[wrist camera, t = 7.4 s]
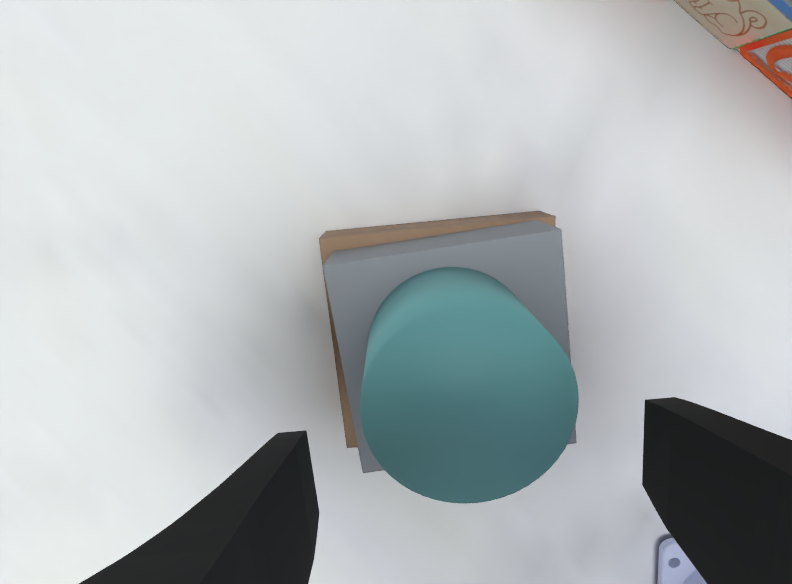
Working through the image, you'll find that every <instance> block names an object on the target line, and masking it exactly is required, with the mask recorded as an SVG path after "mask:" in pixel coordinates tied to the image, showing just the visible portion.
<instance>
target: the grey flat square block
mask: <svg viewBox="0 0 792 584" xmlns="http://www.w3.org/2000/svg"><path fill="white" fill-rule="evenodd" d="M442 267H462V268H468V269H473V270H477V271H480V272H482V273H485V274H487V275H489V276H491V277H493V278H495V279H497V280H498V281H499V282H501V283H502V284H504V285H505V286H506V287H507V288H508V289H509V290H510V291H511V292H512V293H513V294H514V295H515V296H516V297H517V298H518V299H519V300H520V301H521V303H522V304H523V305H524V306H525V307H526V308H527V309H528V310H529V311H530V312H531V313H532V315H533V316H534V317H535V318H536V319H537V320H538V321H539V322H540V323H541V324H542V325H543V327H544V328H545V329H546V330H547V331H548V332H549V333H550V334H551V335H552V336H553V337H554V339H555V340H556V341H557V342H558V344H559V345H560V346H561V347H562V349H563V350H564V352H565V354H566V355H567V357H568V359H569V361H570V363H571V360H570V345H569V331H568V317H567V303H566V289H565V275H564V261H563V247H562V233H561V229H559V228H557V227H554V226H552V225H549V224H546V223H544V222H541V221H539V220H532V221H526V222H519V223H513V224H507V225H500V226H494V227H487V228H481V229H474V230H468V231H461V232H455V233H448V234H442V235H435V236H429V237H422V238H416V239H409V240H403V241H396V242H390V243H383V244H377V245H370V246H364V247H357V248H351V249H344V250H338V251H332V253H331V254H330V256H329V257H328V259H327V260H326V262H325V263H324V265H323V269H324V275H325V280H326V285H327V290H328V295H329V300H330V305H331V311H332V316H333V321H334V326H335V331H336V336H337V341H338V347H339V352H340V357H341V362H342V367H343V372H344V378H345V383H346V388H347V393H348V398H349V403H350V408H351V414H352V419H353V424H354V429H355V434H356V439H357V445H358V450H359V455H360V460H361V465H362V470H363V473H367V472H374V471H381V470H385V469H384V468H383V467H382V466H381V465H380V464H379V462H378V461H377V460H376V458H375V457H374V455H373V453H372V451H371V450H370V448H369V446H368V444H367V441H366V438H365V436H364V433H363V428H362V423H361V415H360V401H361V391H362V383H363V376H364V368H365V361H366V353H367V346H368V338H369V333H370V328H371V324H372V322H373V319H374V316H375V314H376V312H377V310H378V308H379V307H380V305H381V304H382V302H383V301H384V300H385V298H386V297H387V296H388V295H389V294H390V293H391V292H392V291H393V290H394V289H395V288H396V287H397V286H399V285H400V284H401V283H402V282H404V281H406V280H407V279H409V278H410V277H412V276H415V275H417V274H419V273H421V272H424V271H428V270H431V269H436V268H442ZM572 443H576V430H575V426H574V429H573V432H572V435H571V437H570V439H569V441H568V443H567V444H572Z"/></svg>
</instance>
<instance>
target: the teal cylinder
mask: <svg viewBox="0 0 792 584" xmlns="http://www.w3.org/2000/svg"><path fill="white" fill-rule="evenodd" d="M577 413H578V387H577V382H576V378H575V373H574V371H573V368H572V366H571V363H570V361H569V359H568V357H567V355H566V354H565V352H564V350H563V349H562V347H561V346H560V345H559V344H558V342H557V341H556V340H555V339H554V337H553V336H552V335H551V334H550V333H549V332H548V331H547V330H546V329H545V328H544V327H543V325H542V324H541V323H540V322H539V321H538V320H537V319H536V318H535V317H534V316H533V315H532V313H531V312H530V311H529V310H528V309H527V308H526V307H525V306H524V305H523V304H522V303H521V301H520V300H519V299H518V298H517V297H516V296H515V295H514V294H513V293H512V292H511V291H510V290H509V289H508V288H507V287H506V286H505V285H504V284H502V283H501V282H499V281H498V280H497V279H495V278H493V277H491V276H489V275H487V274H485V273H482V272H480V271H477V270H473V269H468V268H462V267H442V268H436V269H431V270H428V271H424V272H421V273H419V274H417V275H415V276H412V277H410V278H409V279H407V280H406V281H404V282H402V283H401V284H400V285H399V286H397V287H396V288H395V289H394V290H393V291H392V292H391V293H390V294H389V295H388V296H387V297H386V298H385V300H384V301H383V302H382V304H381V305H380V307H379V308H378V310H377V312H376V314H375V316H374V319H373V322H372V324H371V328H370V333H369V338H368V346H367V353H366V361H365V368H364V376H363V383H362V391H361V401H360V415H361V423H362V428H363V433H364V436H365V438H366V441H367V444H368V446H369V448H370V450H371V451H372V453H373V455H374V457H375V458H376V460H377V461H378V462H379V464H380V465H381V466H382V467H383V468H384V469H385V470H386V472H387V473H388V474H389V475H390V476H392V477H393V478H394V479H395V480H397V481H398V482H399V483H400V484H402V485H404V486H405V487H407V488H408V489H410V490H412V491H414V492H416V493H418V494H421V495H423V496H426V497H429V498H432V499H435V500H440V501H445V502H451V503H478V502H485V501H491V500H494V499H498V498H502V497H505V496H507V495H510V494H512V493H515V492H517V491H519V490H521V489H522V488H524V487H526V486H528V485H529V484H531V483H532V482H534V481H535V480H537V479H538V478H539V477H540V476H542V475H543V474H544V473H545V472H546V471H547V470H548V469H549V468H550V467H551V466H552V465H553V464H554V463H555V461H556V460H557V459H558V458H559V456H560V455H561V453H562V452H563V450H564V449H565V447H566V445H567V443H568V441H569V439H570V437H571V435H572V432H573V429H574V426H575V423H576V418H577Z"/></svg>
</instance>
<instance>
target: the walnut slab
mask: <svg viewBox="0 0 792 584" xmlns="http://www.w3.org/2000/svg"><path fill="white" fill-rule="evenodd" d="M532 220H539V221H541V222H544V223H546V224H549V225H552V226H554V227H555V216H553V215H550V214H547V213H544V212H541V211H534V212H523V213H513V214H502V215H492V216H481V217H471V218H460V219H449V220H439V221H428V222H418V223H407V224H397V225H386V226H376V227H365V228H355V229H344V230H334V231H326V232H325V233H324V234H323V235H322V236H321V237H320V238H319V242H320V249H321V257H322V264H323V265H324V263H325V262H326V260H327V259H328V257H329V256H330V254H331V253H332V251H338V250H344V249H351V248H357V247H364V246H370V245H377V244H383V243H390V242H396V241H403V240H409V239H416V238H422V237H429V236H435V235H442V234H448V233H455V232H461V231H468V230H474V229H481V228H487V227H494V226H500V225H507V224H513V223H519V222H526V221H532ZM323 272H324V269H323ZM324 279H325V275H324ZM325 287H326V294H327V302H328V309H329V317H330V324H331V332H332V339H333V347H334V354H335V362H336V370H337V377H338V385H339V392H340V400H341V407H342V415H343V422H344V430H345V437H346V445H347V448H352V447H358V445H357V439H356V434H355V429H354V424H353V419H352V414H351V408H350V403H349V398H348V393H347V388H346V383H345V378H344V372H343V367H342V362H341V357H340V352H339V347H338V341H337V336H336V331H335V326H334V321H333V316H332V311H331V305H330V300H329V295H328V290H327V285H326V280H325Z"/></svg>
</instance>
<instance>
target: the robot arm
mask: <svg viewBox="0 0 792 584" xmlns="http://www.w3.org/2000/svg"><path fill="white" fill-rule="evenodd" d="M642 485H643V487H644V489H645V490H646V492H647V494H648V496H649V498H650V500H651V502H652V504H653V505H654V507H655V509H656V511H657V513H658V514H659V516H660V518H661V519H662V521H663V523H664V525H665V526H666V528H667V530H668V531H669V532H670V534H671V535H672V537H673V538H669V539H666V540H664V541H663V542H662V543H661V544H660V547H659V563H658V584H792V440H790V439H787V438H785V437H782V436H779V435H777V434H774V433H771V432H769V431H766V430H764V429H761V428H758V427H756V426H753V425H751V424H748V423H745V422H743V421H740V420H738V419H735V418H733V417H730V416H727V415H725V414H722V413H720V412H717V411H714V410H712V409H709V408H706V407H704V406H701V405H698V404H695V403H692V402H689V401H686V400H683V399H679V398H675V397H672V398H661V399H650V400H645V416H644V448H643V480H642ZM318 520H319V508H318V502H317V495H316V489H315V483H314V476H313V470H312V464H311V457H310V451H309V444H308V438H307V432H306V431H296V432H285V433H278V434H276V435H275V436H274V437H273V438H271V439H270V440H269V441H268V442H267V443H266V444H265V445H263V446H262V447H261V448H260V449H259V450H258V451H257V452H256V453H255V454H254V455H253V456H251V457H250V458H249V459H248V460H247V461H246V462H245V463H244V464H243V465H242V466H241V467H239V468H238V469H237V470H236V471H235V472H234V473H233V474H232V475H230V476H229V477H228V478H227V479H226V480H225V481H224V482H223V483H222V484H220V485H219V486H218V487H217V488H216V489H214V490H213V491H212V492H211V493H210V494H208V495H207V496H206V497H205V498H203V499H202V500H201V501H200V502H199V503H197V504H196V505H195V506H194V507H192V508H191V509H190V510H189V511H188V512H186V513H185V514H184V515H183V516H181V517H180V518H179V519H177V520H176V521H175V522H174V523H172V524H171V525H169V526H168V527H167V528H165V529H164V530H163V531H161V532H160V533H159V534H157V535H156V536H154V537H153V538H151V539H150V540H148V541H147V542H145V543H144V544H142V545H141V546H140V547H138V548H137V549H135V550H134V551H132V552H131V553H129V554H128V555H126V556H124V557H123V558H121V559H120V560H118V561H116V562H115V563H113V564H111V565H110V566H108V567H106V568H105V569H103V570H101V571H100V572H98V573H96V574H95V575H93V576H91V577H90V578H88V579H86V580H85V581H83V582H81V583H79V584H308V582H309V577H310V573H311V569H312V565H313V560H314V554H315V546H316V538H317V529H318ZM672 558H674V559H673V560H671V559H672ZM669 560H671V561H669Z"/></svg>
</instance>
